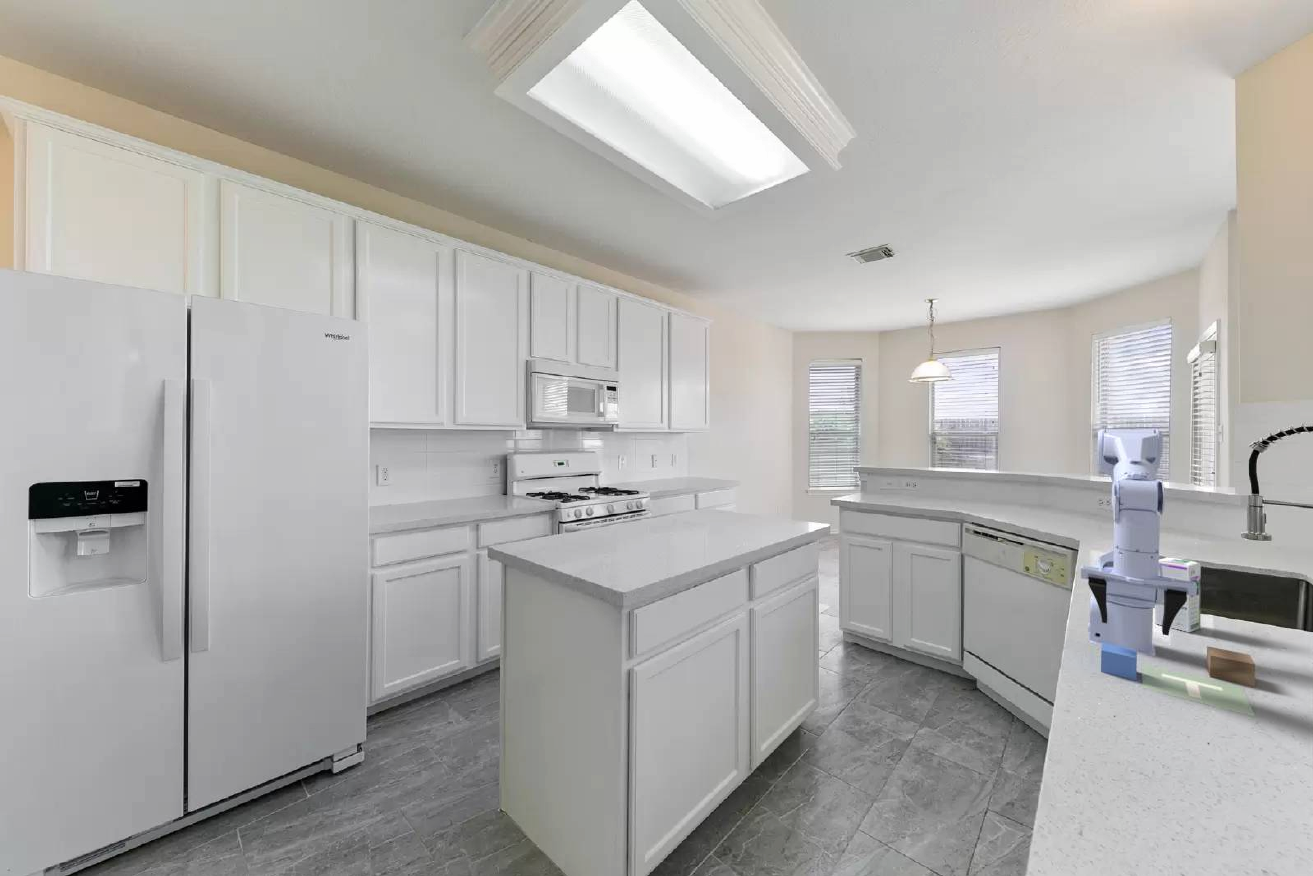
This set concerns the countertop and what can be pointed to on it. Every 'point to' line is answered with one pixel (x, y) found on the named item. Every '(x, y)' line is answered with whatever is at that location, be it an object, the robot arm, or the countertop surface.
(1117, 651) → the blue cube
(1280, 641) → the countertop surface
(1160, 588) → the robot arm
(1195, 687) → the board
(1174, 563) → the syrup box
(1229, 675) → the walnut block
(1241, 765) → the countertop surface
